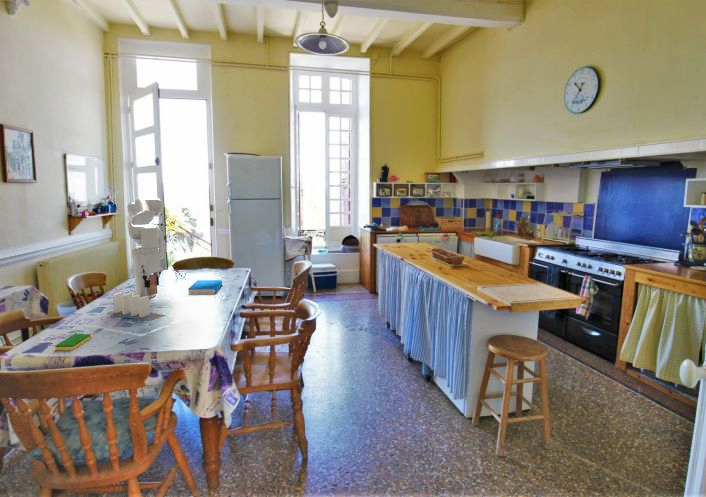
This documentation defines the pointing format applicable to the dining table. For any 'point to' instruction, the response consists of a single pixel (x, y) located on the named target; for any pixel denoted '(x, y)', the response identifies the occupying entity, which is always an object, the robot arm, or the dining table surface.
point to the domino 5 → (152, 285)
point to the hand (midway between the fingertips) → (151, 285)
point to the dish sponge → (73, 342)
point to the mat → (146, 318)
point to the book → (205, 287)
